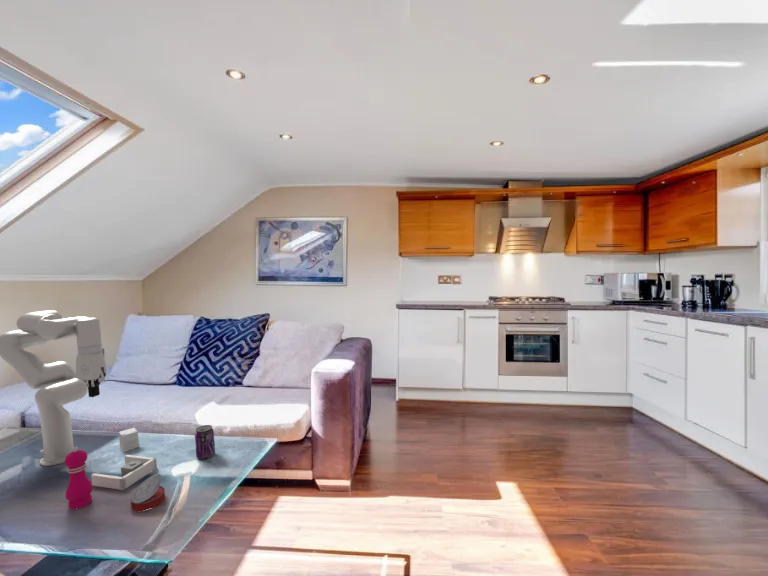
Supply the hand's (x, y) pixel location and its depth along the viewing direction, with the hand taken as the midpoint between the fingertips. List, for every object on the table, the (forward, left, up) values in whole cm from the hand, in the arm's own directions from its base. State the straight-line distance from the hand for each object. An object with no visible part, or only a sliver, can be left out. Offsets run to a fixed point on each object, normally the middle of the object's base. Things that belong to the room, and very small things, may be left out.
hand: (94, 395), depth 156 cm
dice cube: (+19, -3, -29) cm, 35 cm away
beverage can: (+36, +16, -29) cm, 49 cm away
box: (+16, -4, -29) cm, 33 cm away
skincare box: (-3, +16, -29) cm, 34 cm away
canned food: (+38, -15, -30) cm, 50 cm away
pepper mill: (+16, -21, -29) cm, 39 cm away
